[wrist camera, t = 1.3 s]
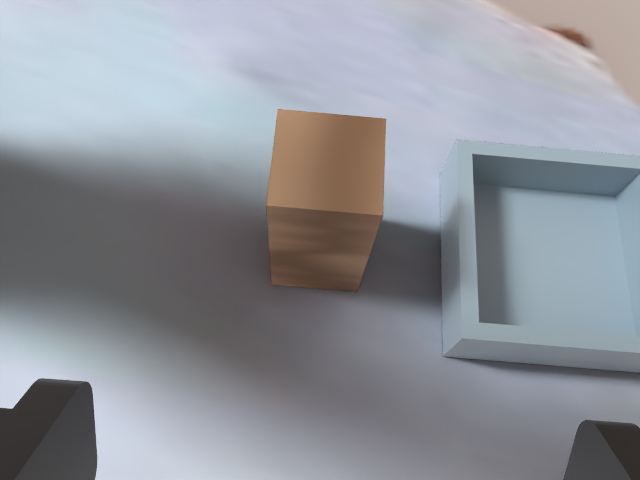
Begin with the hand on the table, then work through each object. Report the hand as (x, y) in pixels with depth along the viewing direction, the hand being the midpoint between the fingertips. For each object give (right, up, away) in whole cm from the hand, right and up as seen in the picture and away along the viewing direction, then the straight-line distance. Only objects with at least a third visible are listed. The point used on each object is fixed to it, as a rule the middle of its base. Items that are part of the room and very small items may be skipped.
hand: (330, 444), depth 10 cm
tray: (+12, +2, +22) cm, 25 cm away
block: (0, +3, +22) cm, 22 cm away
